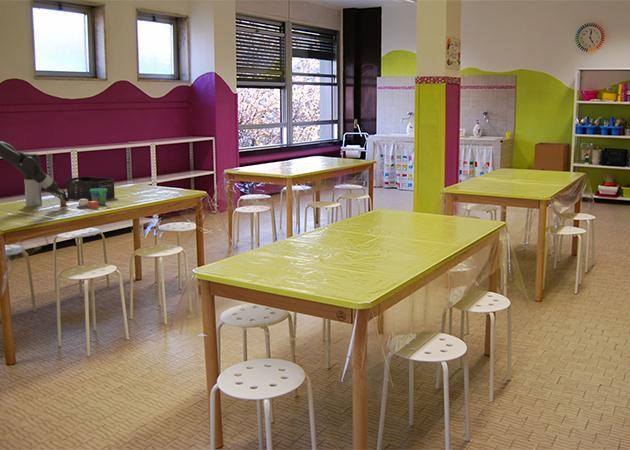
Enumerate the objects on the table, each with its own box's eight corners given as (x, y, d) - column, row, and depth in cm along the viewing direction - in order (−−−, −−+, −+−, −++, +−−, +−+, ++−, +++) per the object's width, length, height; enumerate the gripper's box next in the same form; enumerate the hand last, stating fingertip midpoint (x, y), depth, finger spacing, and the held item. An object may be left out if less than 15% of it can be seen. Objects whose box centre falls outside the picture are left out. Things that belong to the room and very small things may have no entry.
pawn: (58, 207, 413) (56, 191, 411) (64, 206, 417) (63, 190, 415) (62, 208, 410) (61, 191, 408) (69, 206, 414) (68, 190, 412)
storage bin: (117, 197, 461) (116, 178, 458) (96, 201, 444) (95, 181, 441) (86, 194, 473) (85, 175, 471) (65, 198, 456) (63, 179, 454)
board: (57, 210, 412) (56, 202, 411) (79, 206, 425) (78, 198, 424) (77, 213, 402) (76, 205, 401) (99, 209, 415) (98, 201, 414)
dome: (76, 205, 416) (76, 199, 415) (84, 204, 420) (84, 198, 420) (82, 206, 413) (82, 200, 412) (90, 204, 417) (89, 199, 417)
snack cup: (109, 206, 427) (108, 190, 425) (92, 207, 422) (91, 191, 420) (106, 202, 441) (105, 187, 438) (89, 203, 436) (88, 188, 434)
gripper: (36, 187, 404) (55, 204, 417) (50, 189, 396) (70, 206, 409) (43, 177, 407) (62, 194, 420) (57, 179, 400) (76, 196, 412)
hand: (66, 200), depth 414 cm, fingers closed on pawn, 3 cm apart
